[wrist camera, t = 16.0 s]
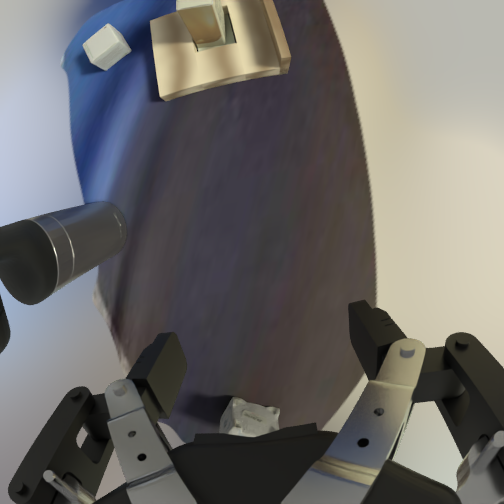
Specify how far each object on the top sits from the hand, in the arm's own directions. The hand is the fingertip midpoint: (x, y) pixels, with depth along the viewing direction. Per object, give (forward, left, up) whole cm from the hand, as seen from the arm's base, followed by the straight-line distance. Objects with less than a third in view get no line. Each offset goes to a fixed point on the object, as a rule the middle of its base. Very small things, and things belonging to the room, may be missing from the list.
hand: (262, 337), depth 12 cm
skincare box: (-1, +31, -28) cm, 42 cm away
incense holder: (-9, -35, -28) cm, 46 cm away
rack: (-1, +29, -28) cm, 40 cm away
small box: (-18, +35, -28) cm, 49 cm away
